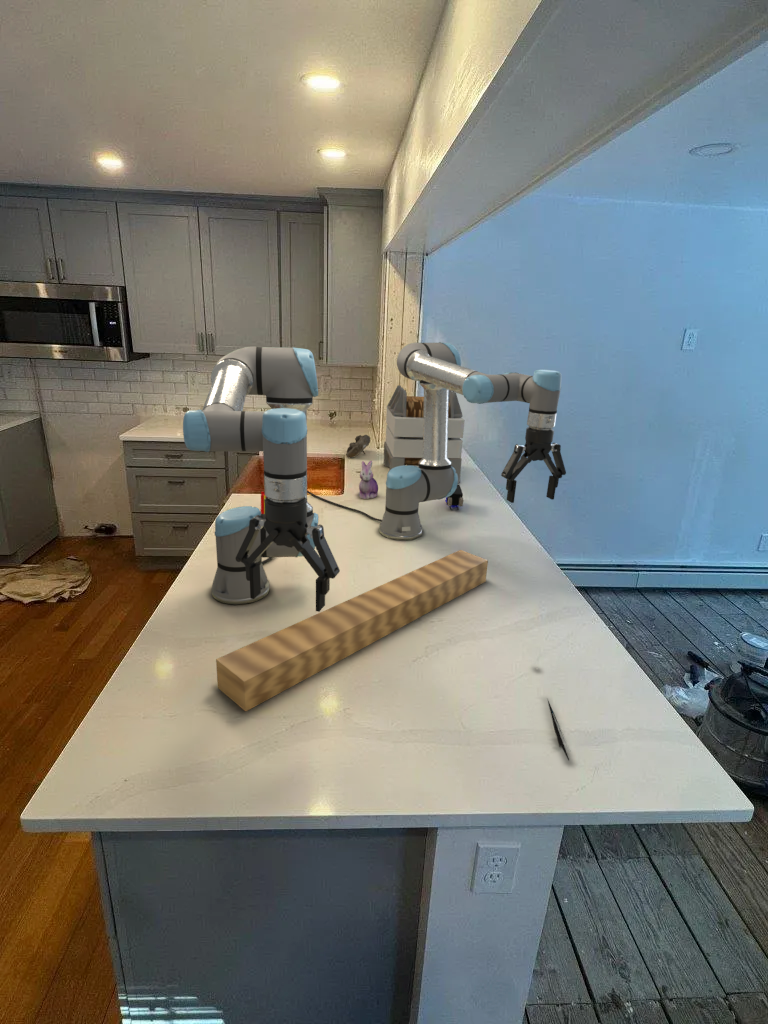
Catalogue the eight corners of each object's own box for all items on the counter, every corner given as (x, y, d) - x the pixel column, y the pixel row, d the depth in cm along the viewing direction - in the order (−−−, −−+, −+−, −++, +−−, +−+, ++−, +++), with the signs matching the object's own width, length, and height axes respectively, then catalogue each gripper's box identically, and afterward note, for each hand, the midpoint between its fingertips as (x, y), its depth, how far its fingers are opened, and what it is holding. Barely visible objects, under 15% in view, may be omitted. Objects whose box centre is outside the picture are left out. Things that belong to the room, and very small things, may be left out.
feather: (537, 674, 127) (543, 668, 127) (569, 765, 101) (576, 758, 100) (531, 670, 127) (536, 664, 126) (561, 760, 100) (568, 753, 100)
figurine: (363, 500, 232) (364, 465, 227) (352, 493, 240) (353, 459, 235) (383, 498, 236) (385, 463, 231) (372, 491, 244) (373, 457, 239)
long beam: (458, 570, 174) (460, 549, 171) (485, 581, 167) (488, 560, 165) (217, 688, 116) (215, 659, 114) (245, 711, 110) (244, 681, 108)
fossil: (346, 440, 314) (367, 425, 309) (357, 454, 317) (378, 439, 312) (340, 454, 295) (362, 438, 290) (351, 468, 298) (374, 453, 293)
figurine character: (463, 515, 225) (458, 499, 238) (465, 497, 221) (460, 482, 235) (446, 514, 224) (442, 498, 238) (448, 497, 221) (444, 482, 235)
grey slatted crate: (382, 463, 289) (386, 382, 275) (445, 464, 293) (451, 384, 279) (390, 482, 257) (394, 392, 243) (460, 483, 261) (468, 394, 247)
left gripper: (212, 493, 101) (219, 599, 109) (343, 512, 95) (341, 623, 102) (234, 482, 108) (239, 582, 115) (358, 499, 102) (355, 604, 109)
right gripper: (508, 431, 150) (499, 507, 157) (586, 429, 159) (574, 500, 166) (494, 425, 157) (486, 498, 164) (569, 423, 165) (558, 492, 172)
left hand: (287, 601), depth 109 cm, fingers open, 13 cm apart
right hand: (530, 499), depth 165 cm, fingers open, 13 cm apart
